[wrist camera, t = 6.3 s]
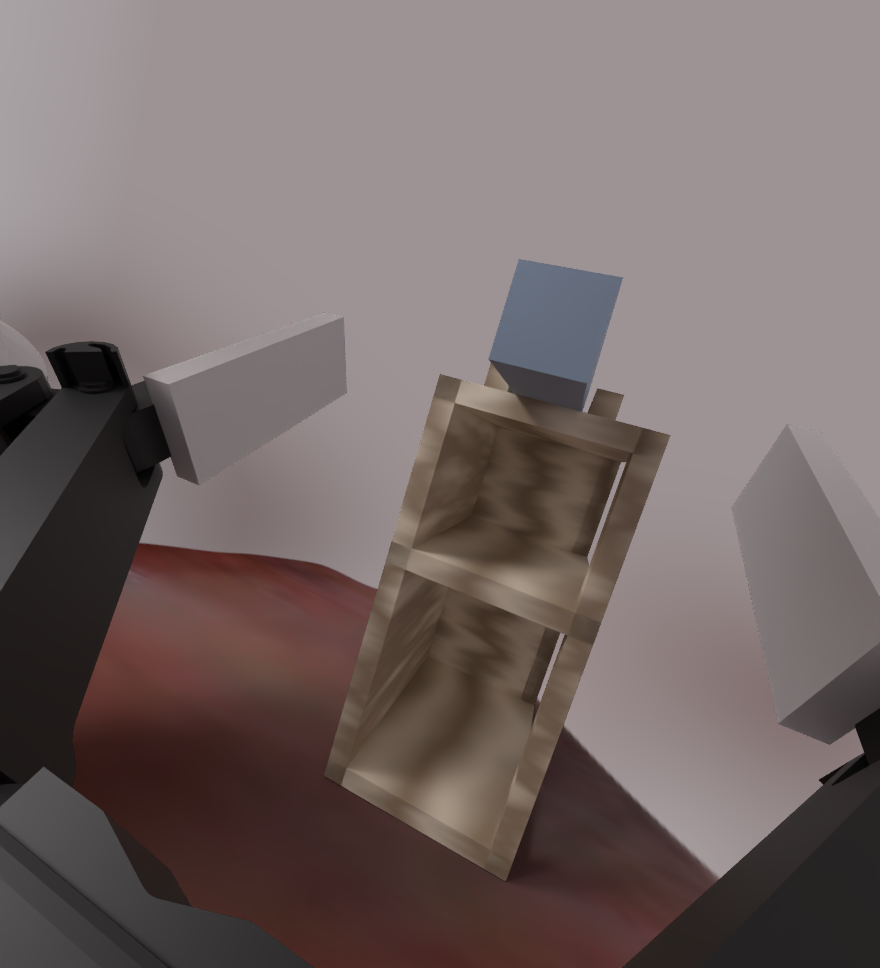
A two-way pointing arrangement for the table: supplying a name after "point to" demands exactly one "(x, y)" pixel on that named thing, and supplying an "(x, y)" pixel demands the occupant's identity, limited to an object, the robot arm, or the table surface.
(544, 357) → the block
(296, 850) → the table surface
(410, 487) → the shelf stand
